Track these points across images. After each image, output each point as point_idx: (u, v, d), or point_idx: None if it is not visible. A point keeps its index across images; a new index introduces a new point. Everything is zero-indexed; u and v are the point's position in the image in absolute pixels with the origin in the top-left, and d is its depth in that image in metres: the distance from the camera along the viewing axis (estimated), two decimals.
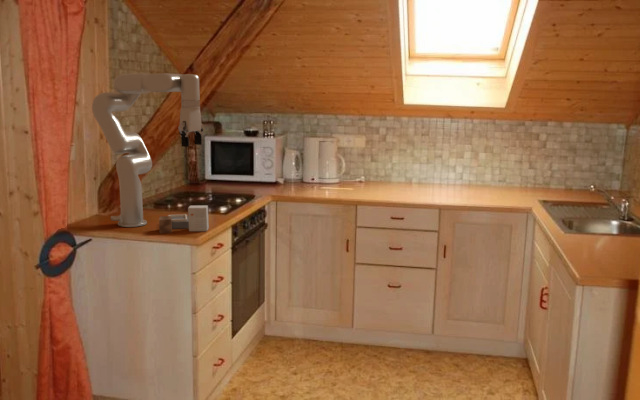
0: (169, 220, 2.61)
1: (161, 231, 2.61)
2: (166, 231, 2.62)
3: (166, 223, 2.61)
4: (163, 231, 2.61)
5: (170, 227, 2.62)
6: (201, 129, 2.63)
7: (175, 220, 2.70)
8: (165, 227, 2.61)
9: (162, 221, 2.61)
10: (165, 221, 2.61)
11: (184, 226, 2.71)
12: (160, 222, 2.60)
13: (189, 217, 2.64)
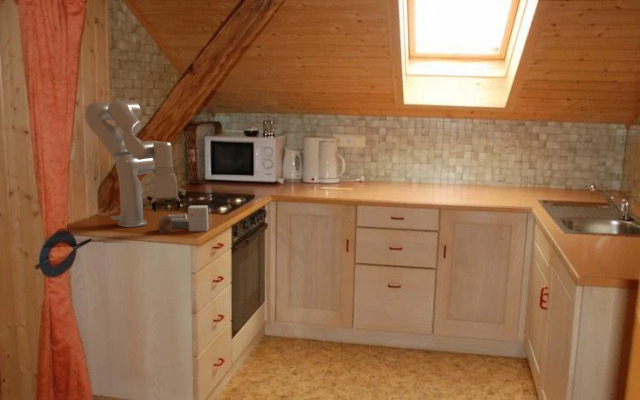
0: (169, 220, 2.61)
1: (161, 231, 2.61)
2: (166, 231, 2.62)
3: (166, 223, 2.61)
4: (163, 231, 2.61)
5: (170, 227, 2.62)
6: None
7: (175, 220, 2.70)
8: (165, 227, 2.61)
9: (162, 221, 2.61)
10: (165, 221, 2.61)
11: (184, 226, 2.71)
12: (160, 222, 2.60)
13: (189, 217, 2.64)
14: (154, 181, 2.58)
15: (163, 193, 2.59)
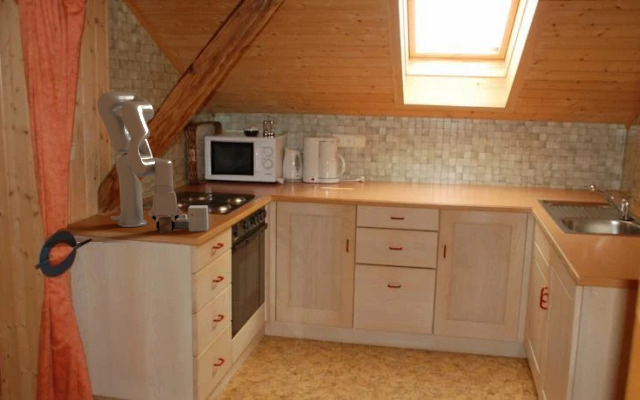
0: (169, 220, 2.61)
1: (161, 231, 2.61)
2: (166, 231, 2.62)
3: (166, 223, 2.61)
4: (163, 231, 2.61)
5: (170, 227, 2.62)
6: None
7: (175, 220, 2.70)
8: (165, 227, 2.61)
9: (162, 221, 2.61)
10: (165, 221, 2.61)
11: (184, 226, 2.71)
12: (160, 222, 2.60)
13: (189, 217, 2.64)
14: (154, 199, 2.59)
15: (163, 210, 2.60)
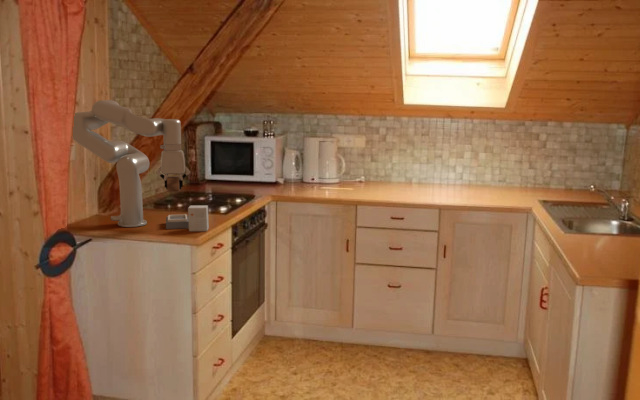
0: (177, 178, 2.66)
1: (169, 189, 2.66)
2: (173, 189, 2.66)
3: (174, 181, 2.66)
4: (171, 189, 2.66)
5: (177, 185, 2.66)
6: None
7: (175, 220, 2.70)
8: (173, 185, 2.66)
9: (170, 179, 2.65)
10: (173, 179, 2.66)
11: (184, 226, 2.71)
12: (168, 180, 2.65)
13: (189, 217, 2.64)
14: (162, 157, 2.64)
15: (171, 169, 2.66)
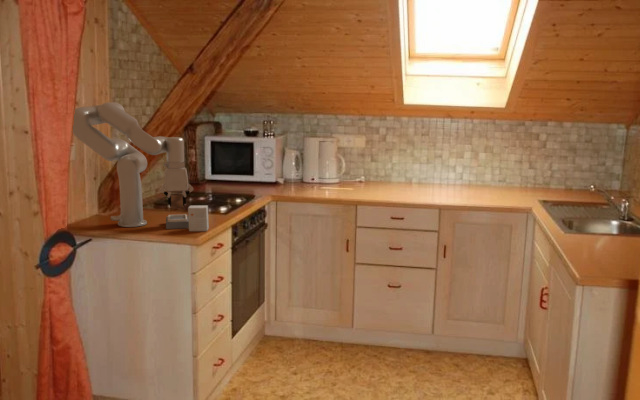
0: (180, 195, 2.70)
1: (173, 206, 2.70)
2: (177, 206, 2.70)
3: (177, 198, 2.70)
4: (175, 206, 2.70)
5: (181, 202, 2.71)
6: None
7: (175, 220, 2.70)
8: (177, 202, 2.70)
9: (174, 196, 2.69)
10: (177, 196, 2.70)
11: (184, 226, 2.71)
12: (172, 197, 2.69)
13: (189, 217, 2.64)
14: (166, 175, 2.68)
15: (175, 186, 2.70)
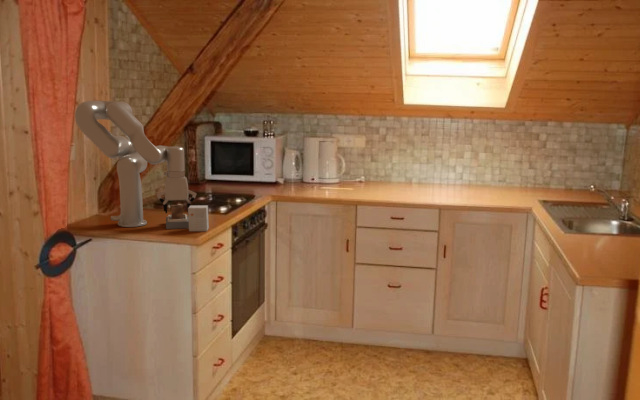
0: (181, 208, 2.71)
1: None
2: None
3: (178, 211, 2.71)
4: None
5: (182, 215, 2.72)
6: (161, 198, 2.73)
7: (175, 220, 2.70)
8: (177, 215, 2.71)
9: (174, 209, 2.70)
10: (177, 209, 2.71)
11: (184, 226, 2.71)
12: (172, 210, 2.70)
13: (189, 217, 2.64)
14: (166, 184, 2.69)
15: (175, 195, 2.70)
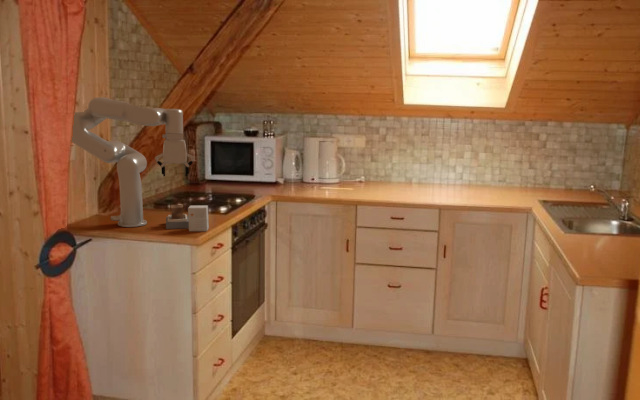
0: (181, 208, 2.71)
1: None
2: None
3: (178, 211, 2.71)
4: None
5: (182, 215, 2.72)
6: None
7: (175, 220, 2.70)
8: (177, 215, 2.71)
9: (174, 209, 2.70)
10: (177, 209, 2.71)
11: (184, 226, 2.71)
12: (172, 210, 2.70)
13: (189, 217, 2.64)
14: (164, 146, 2.67)
15: (173, 158, 2.68)
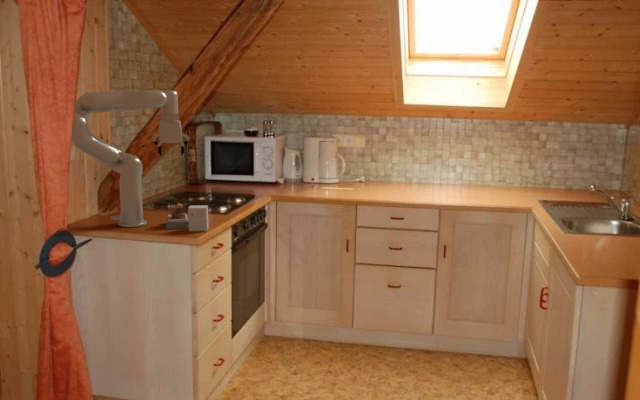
0: (181, 208, 2.71)
1: None
2: None
3: (178, 211, 2.71)
4: None
5: (182, 215, 2.72)
6: (156, 141, 2.81)
7: (175, 220, 2.70)
8: (177, 215, 2.71)
9: (174, 209, 2.70)
10: (177, 209, 2.71)
11: (184, 226, 2.71)
12: (172, 210, 2.70)
13: (189, 217, 2.64)
14: (160, 126, 2.77)
15: (169, 138, 2.79)
